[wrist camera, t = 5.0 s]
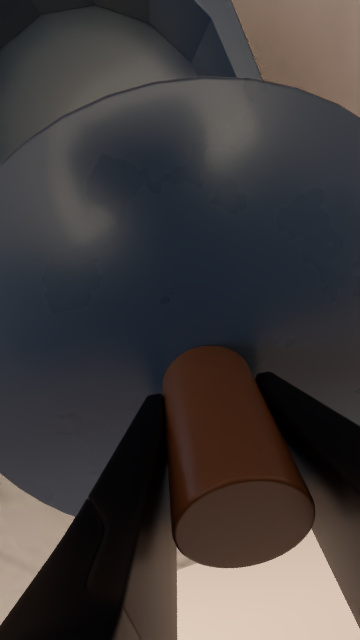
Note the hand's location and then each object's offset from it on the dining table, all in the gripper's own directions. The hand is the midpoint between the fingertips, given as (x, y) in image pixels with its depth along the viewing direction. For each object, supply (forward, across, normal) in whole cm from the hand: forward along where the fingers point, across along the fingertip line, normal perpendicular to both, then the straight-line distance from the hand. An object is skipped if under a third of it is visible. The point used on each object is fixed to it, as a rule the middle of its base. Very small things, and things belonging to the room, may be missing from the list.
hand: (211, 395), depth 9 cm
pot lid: (+1, 0, 0) cm, 1 cm away
